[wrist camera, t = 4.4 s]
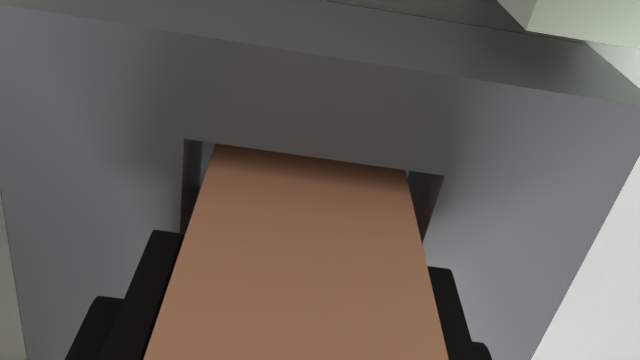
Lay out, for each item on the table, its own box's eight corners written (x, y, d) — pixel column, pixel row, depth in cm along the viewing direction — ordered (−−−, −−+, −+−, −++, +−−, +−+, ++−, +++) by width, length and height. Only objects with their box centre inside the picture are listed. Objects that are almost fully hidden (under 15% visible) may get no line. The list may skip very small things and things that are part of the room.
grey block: (586, 44, 13) (664, 109, 10) (470, 319, 18) (500, 417, 15) (54, -45, 12) (-30, -1, 9) (79, 272, 17) (28, 368, 14)
